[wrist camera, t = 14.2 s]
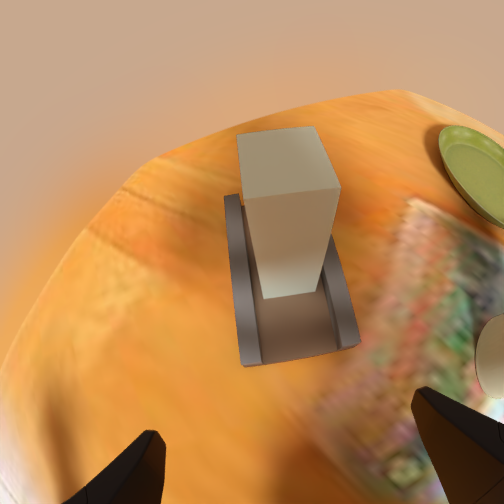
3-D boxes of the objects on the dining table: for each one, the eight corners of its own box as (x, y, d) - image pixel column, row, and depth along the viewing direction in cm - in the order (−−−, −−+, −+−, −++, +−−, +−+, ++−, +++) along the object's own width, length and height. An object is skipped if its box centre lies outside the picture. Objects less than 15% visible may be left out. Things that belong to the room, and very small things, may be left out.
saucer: (440, 124, 35) (444, 110, 33) (525, 182, 28) (532, 171, 25) (420, 189, 28) (428, 171, 26) (530, 269, 21) (543, 258, 18)
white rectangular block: (315, 291, 23) (341, 187, 12) (263, 299, 23) (243, 199, 12) (304, 242, 26) (313, 126, 14) (257, 248, 26) (236, 134, 14)
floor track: (353, 347, 21) (361, 341, 19) (244, 367, 21) (240, 364, 19) (312, 198, 29) (314, 182, 26) (227, 211, 29) (223, 196, 27)
